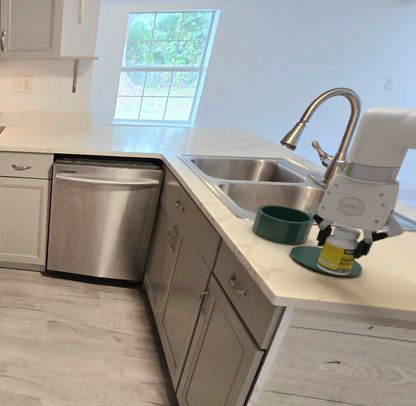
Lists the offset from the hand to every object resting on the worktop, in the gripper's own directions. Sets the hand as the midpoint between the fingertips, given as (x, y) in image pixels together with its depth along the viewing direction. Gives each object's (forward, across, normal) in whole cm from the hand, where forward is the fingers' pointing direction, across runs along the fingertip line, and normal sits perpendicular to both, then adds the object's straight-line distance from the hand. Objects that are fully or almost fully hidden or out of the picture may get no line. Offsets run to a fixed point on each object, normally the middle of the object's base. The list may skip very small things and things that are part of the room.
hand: (339, 249), depth 79 cm
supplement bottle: (+5, 0, 0) cm, 5 cm away
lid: (+8, -4, +9) cm, 12 cm away
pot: (+8, -17, +16) cm, 24 cm away
